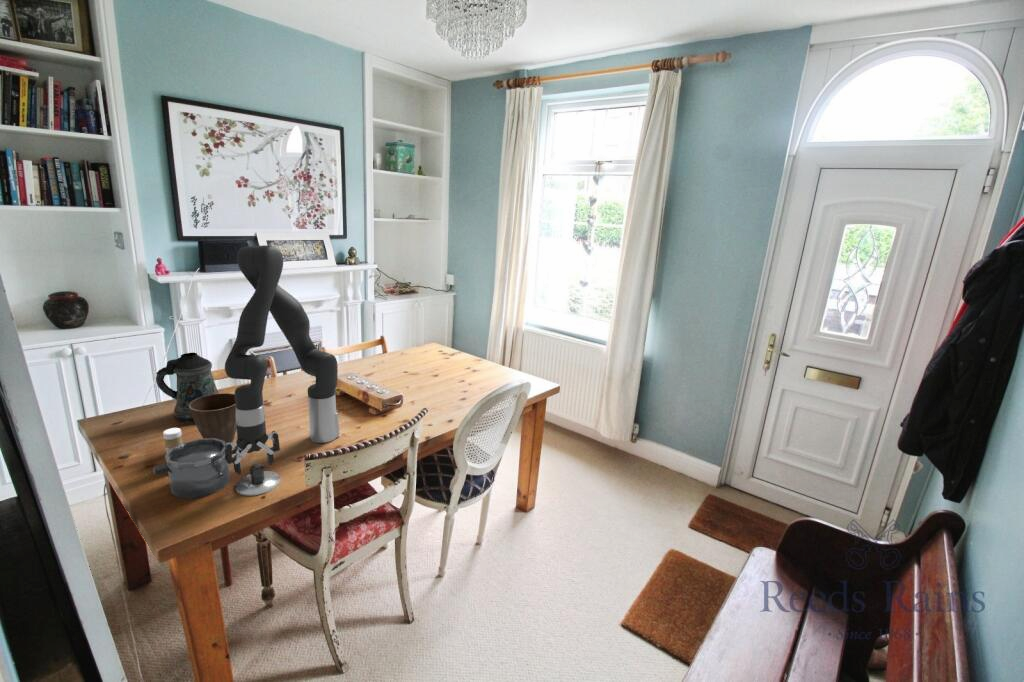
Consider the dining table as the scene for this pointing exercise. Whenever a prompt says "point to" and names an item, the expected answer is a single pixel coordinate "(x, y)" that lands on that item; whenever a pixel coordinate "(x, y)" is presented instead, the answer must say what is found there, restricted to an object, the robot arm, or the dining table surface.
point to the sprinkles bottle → (172, 438)
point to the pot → (196, 468)
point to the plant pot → (215, 416)
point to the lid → (257, 481)
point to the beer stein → (187, 383)
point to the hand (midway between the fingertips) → (254, 468)
